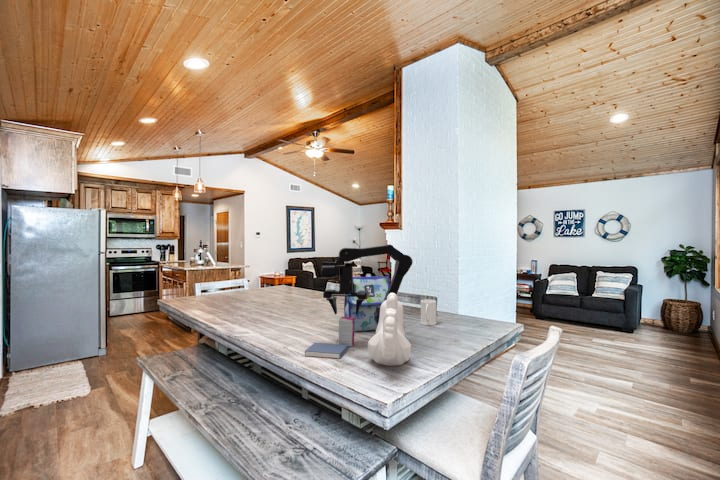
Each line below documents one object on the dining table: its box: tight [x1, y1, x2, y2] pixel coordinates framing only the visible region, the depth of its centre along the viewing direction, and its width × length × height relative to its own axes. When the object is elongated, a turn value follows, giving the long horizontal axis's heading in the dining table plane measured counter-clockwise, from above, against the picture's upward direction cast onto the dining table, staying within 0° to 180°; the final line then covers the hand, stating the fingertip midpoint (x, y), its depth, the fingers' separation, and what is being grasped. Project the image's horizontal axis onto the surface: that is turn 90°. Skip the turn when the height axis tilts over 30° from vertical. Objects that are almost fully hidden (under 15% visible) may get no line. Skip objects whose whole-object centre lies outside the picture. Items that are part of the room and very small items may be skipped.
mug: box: [419, 299, 437, 326], centre depth 182 cm, size 12×8×12 cm
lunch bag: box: [343, 276, 390, 333], centre depth 173 cm, size 22×17×26 cm
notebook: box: [304, 342, 349, 360], centre depth 136 cm, size 14×11×2 cm
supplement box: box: [337, 316, 355, 349], centre depth 145 cm, size 6×6×12 cm
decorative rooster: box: [367, 293, 412, 367], centre depth 122 cm, size 25×16×25 cm, turn 161°
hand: (346, 314), depth 145 cm, fingers open, 9 cm apart
